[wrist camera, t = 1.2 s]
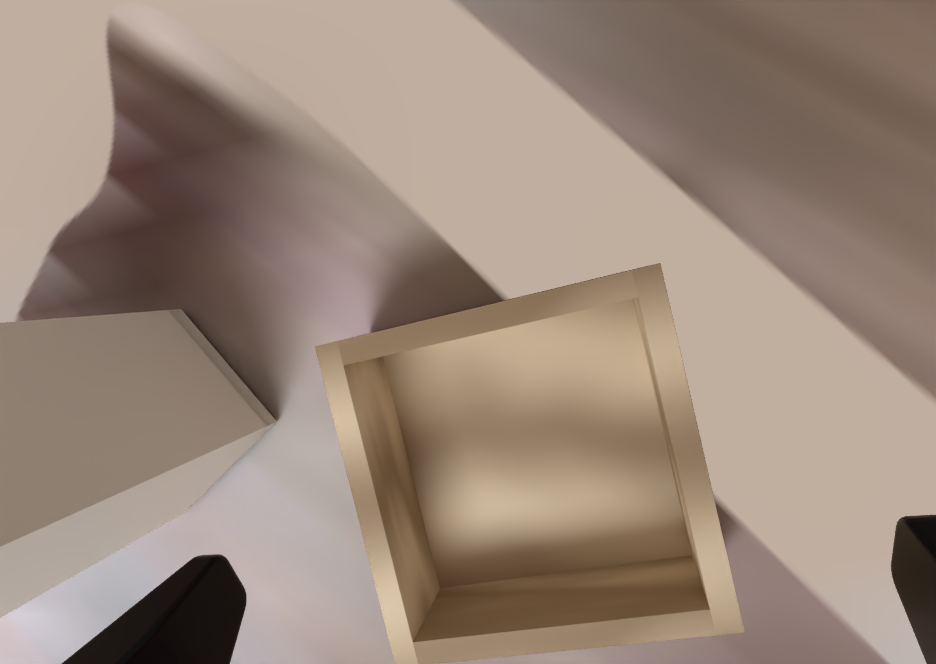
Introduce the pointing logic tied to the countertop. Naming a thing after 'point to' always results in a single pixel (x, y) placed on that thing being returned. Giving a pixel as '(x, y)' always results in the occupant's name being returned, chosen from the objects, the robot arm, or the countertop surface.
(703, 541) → the beech crate
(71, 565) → the grey tote
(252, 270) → the countertop surface
